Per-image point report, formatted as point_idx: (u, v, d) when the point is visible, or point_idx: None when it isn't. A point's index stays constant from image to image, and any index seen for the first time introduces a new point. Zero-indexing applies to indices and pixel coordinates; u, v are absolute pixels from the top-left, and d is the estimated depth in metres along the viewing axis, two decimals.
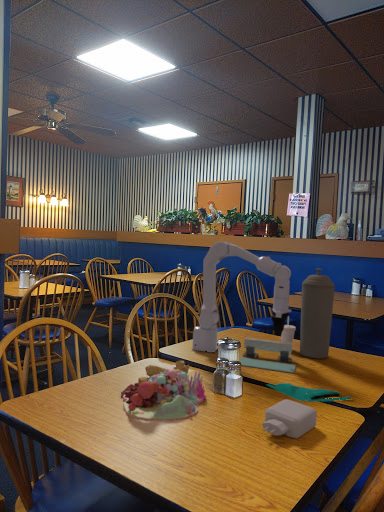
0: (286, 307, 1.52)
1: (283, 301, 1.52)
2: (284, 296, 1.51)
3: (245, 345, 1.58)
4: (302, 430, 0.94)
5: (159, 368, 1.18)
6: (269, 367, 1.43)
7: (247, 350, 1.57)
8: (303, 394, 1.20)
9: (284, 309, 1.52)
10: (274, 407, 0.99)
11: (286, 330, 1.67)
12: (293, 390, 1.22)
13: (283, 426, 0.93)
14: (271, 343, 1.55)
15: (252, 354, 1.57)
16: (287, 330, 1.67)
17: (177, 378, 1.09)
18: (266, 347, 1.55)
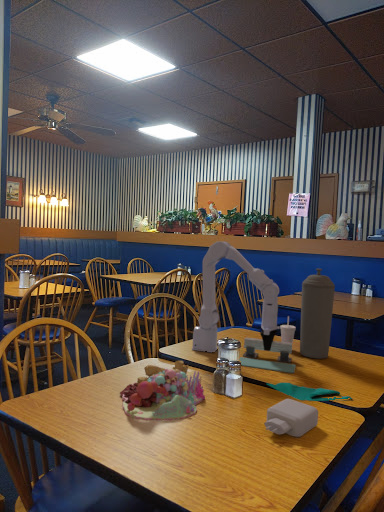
0: (274, 324, 1.54)
1: (271, 318, 1.53)
2: (272, 313, 1.53)
3: (245, 345, 1.58)
4: (303, 429, 0.95)
5: (158, 368, 1.18)
6: (269, 367, 1.43)
7: (247, 350, 1.57)
8: (303, 394, 1.21)
9: (272, 326, 1.53)
10: (276, 406, 1.00)
11: (286, 330, 1.67)
12: (293, 389, 1.23)
13: (285, 425, 0.94)
14: None
15: (252, 354, 1.57)
16: (287, 330, 1.67)
17: (176, 378, 1.09)
18: None
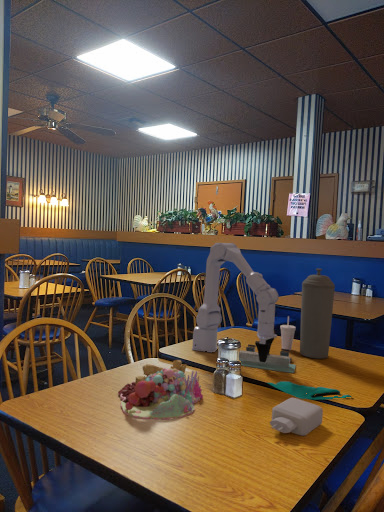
0: (271, 332, 1.44)
1: (268, 326, 1.44)
2: (266, 321, 1.44)
3: (240, 359, 1.48)
4: (309, 427, 0.96)
5: (156, 367, 1.19)
6: (269, 367, 1.43)
7: (247, 350, 1.57)
8: (304, 392, 1.22)
9: (269, 334, 1.44)
10: (281, 405, 1.01)
11: (286, 330, 1.67)
12: (293, 388, 1.24)
13: (291, 424, 0.94)
14: (267, 357, 1.45)
15: None
16: (287, 330, 1.67)
17: (174, 377, 1.10)
18: None
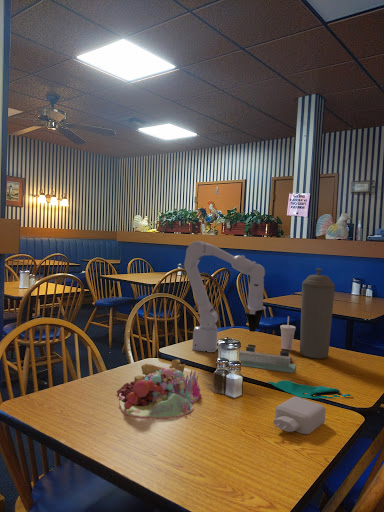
0: (260, 304, 1.57)
1: (257, 298, 1.56)
2: (259, 294, 1.56)
3: (240, 359, 1.48)
4: (312, 426, 0.96)
5: (155, 367, 1.19)
6: (269, 367, 1.43)
7: (247, 350, 1.57)
8: (304, 391, 1.23)
9: (258, 306, 1.57)
10: (284, 404, 1.01)
11: (286, 330, 1.67)
12: (294, 387, 1.25)
13: (294, 422, 0.95)
14: (267, 357, 1.45)
15: None
16: (287, 330, 1.67)
17: (173, 377, 1.10)
18: (262, 361, 1.46)
